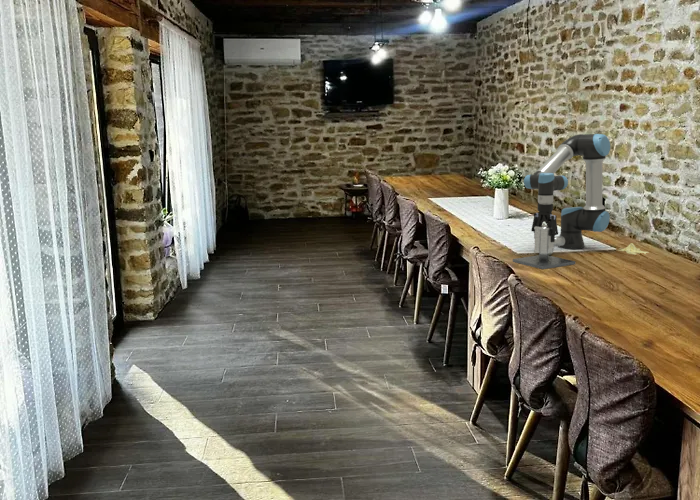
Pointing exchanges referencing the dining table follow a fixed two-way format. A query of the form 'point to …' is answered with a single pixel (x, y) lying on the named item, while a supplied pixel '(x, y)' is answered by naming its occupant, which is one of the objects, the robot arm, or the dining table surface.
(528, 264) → the grey metal plate
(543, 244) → the grey metal fitting
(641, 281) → the dining table surface
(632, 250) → the cloth
